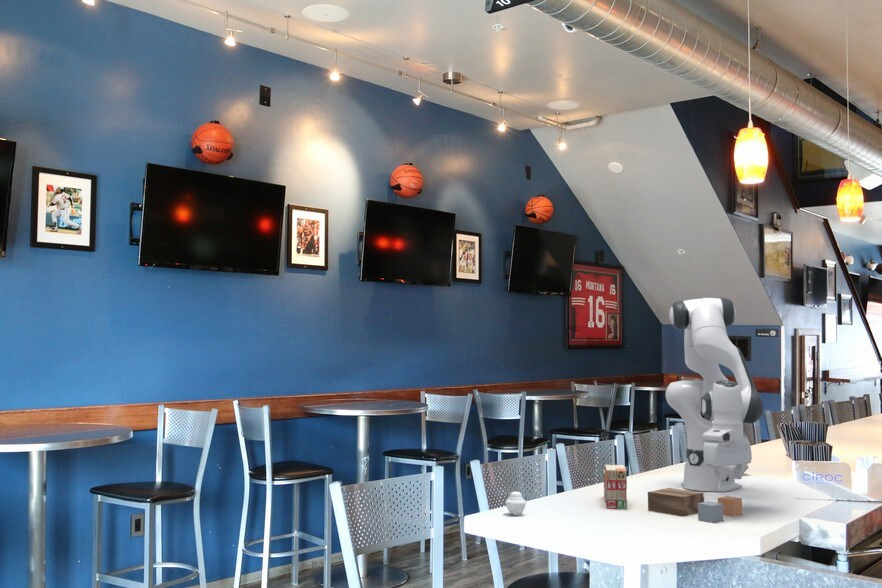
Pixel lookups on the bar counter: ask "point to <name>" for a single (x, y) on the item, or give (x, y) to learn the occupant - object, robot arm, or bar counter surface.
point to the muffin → (515, 503)
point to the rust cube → (731, 505)
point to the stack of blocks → (615, 486)
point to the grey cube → (710, 512)
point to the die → (735, 468)
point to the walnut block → (674, 501)
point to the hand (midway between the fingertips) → (729, 480)
